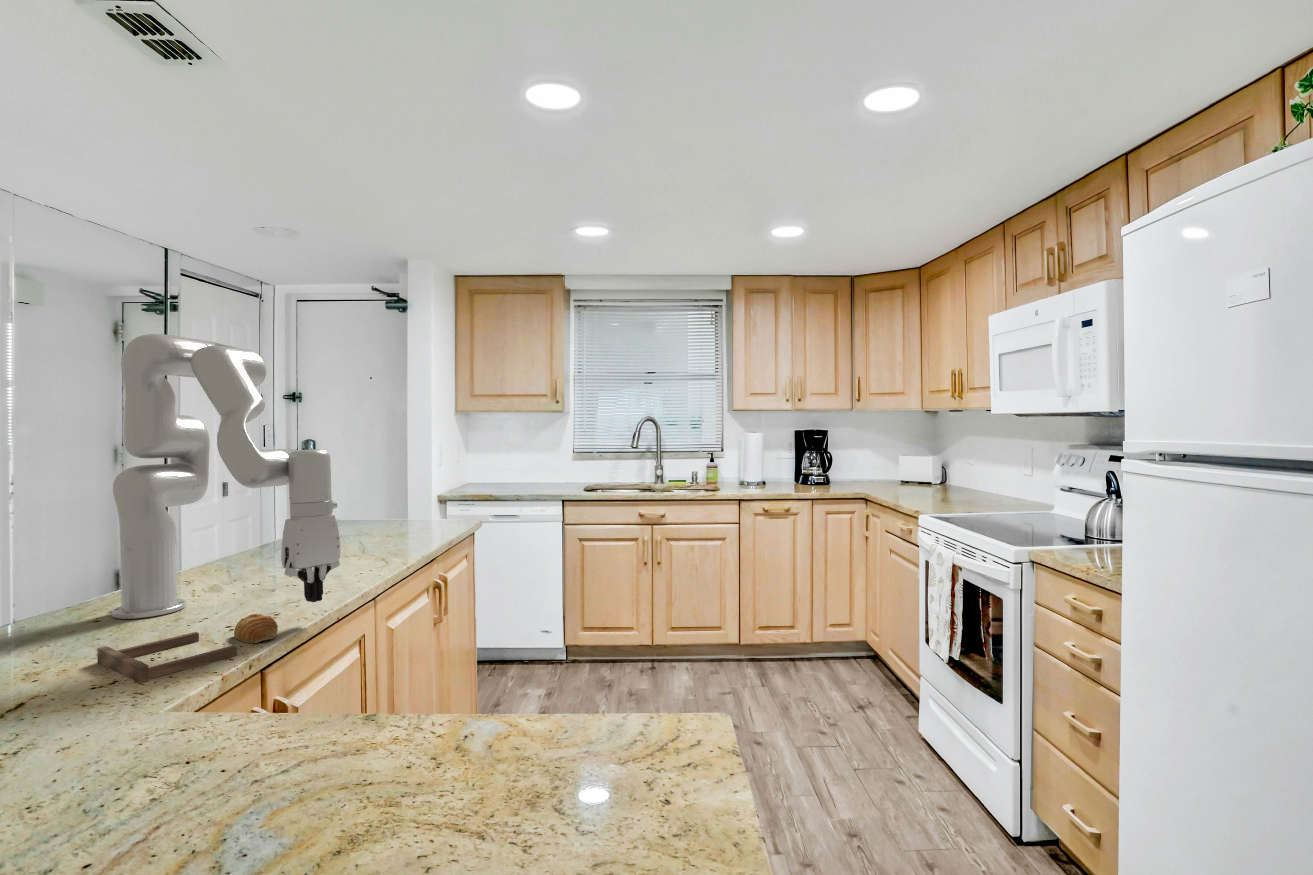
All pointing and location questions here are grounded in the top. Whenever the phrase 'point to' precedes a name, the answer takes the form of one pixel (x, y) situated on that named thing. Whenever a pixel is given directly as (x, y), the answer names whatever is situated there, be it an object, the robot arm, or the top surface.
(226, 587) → the top surface
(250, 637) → the pastry
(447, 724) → the top surface
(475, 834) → the top surface
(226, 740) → the top surface
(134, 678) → the bay
